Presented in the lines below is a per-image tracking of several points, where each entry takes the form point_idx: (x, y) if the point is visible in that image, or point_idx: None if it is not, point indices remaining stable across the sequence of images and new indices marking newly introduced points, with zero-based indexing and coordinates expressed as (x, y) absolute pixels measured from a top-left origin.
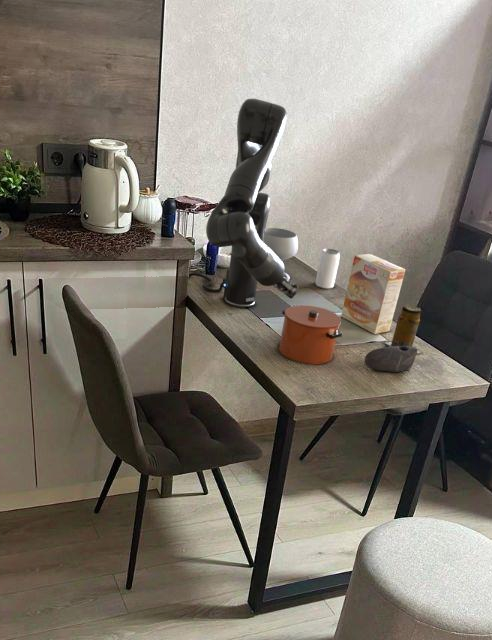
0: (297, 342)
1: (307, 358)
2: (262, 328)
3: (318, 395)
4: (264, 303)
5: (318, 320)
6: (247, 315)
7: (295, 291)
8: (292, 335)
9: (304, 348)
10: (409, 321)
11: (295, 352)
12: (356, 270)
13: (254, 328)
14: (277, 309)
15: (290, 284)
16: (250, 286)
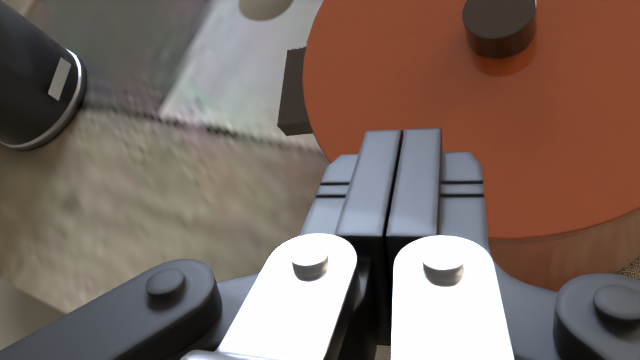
0: (585, 263)
1: None
2: (222, 171)
3: None
4: (100, 22)
5: (596, 40)
6: (117, 145)
7: (441, 137)
8: (531, 263)
9: (636, 244)
10: None
11: None
12: None
13: (203, 204)
14: (153, 7)
15: (450, 268)
16: (9, 53)
